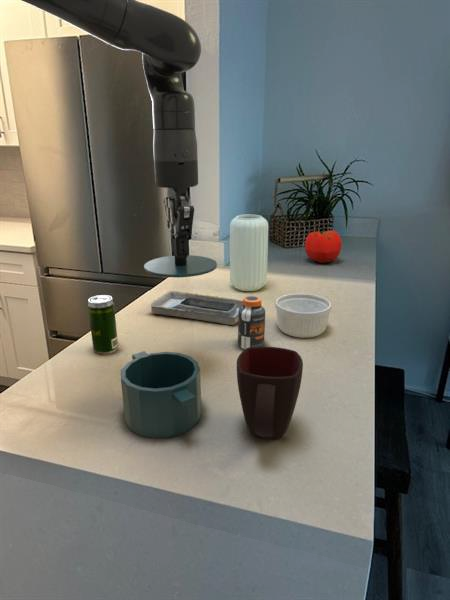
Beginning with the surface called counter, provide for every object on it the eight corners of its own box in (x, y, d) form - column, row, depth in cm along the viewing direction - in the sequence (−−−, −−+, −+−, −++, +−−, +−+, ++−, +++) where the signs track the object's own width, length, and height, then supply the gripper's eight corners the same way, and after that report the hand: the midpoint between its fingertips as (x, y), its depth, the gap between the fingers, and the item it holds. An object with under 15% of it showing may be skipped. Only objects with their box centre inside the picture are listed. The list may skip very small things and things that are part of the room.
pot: (152, 459, 62) (148, 409, 59) (108, 401, 76) (103, 358, 73) (224, 428, 69) (224, 381, 66) (171, 380, 83) (169, 340, 80)
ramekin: (322, 344, 97) (324, 316, 94) (266, 334, 102) (267, 307, 100) (334, 323, 108) (336, 297, 106) (283, 315, 113) (284, 290, 111)
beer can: (122, 345, 97) (117, 295, 93) (112, 356, 92) (107, 304, 88) (99, 343, 98) (93, 294, 94) (89, 354, 93) (82, 302, 89)
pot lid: (165, 285, 72) (163, 251, 70) (133, 267, 83) (130, 237, 81) (231, 272, 80) (230, 240, 78) (193, 257, 90) (192, 229, 88)
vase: (253, 296, 128) (254, 221, 120) (222, 288, 134) (222, 217, 126) (273, 286, 136) (275, 215, 129) (243, 279, 143) (244, 212, 135)
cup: (299, 412, 73) (303, 348, 69) (297, 470, 60) (302, 396, 56) (241, 406, 74) (241, 344, 70) (227, 462, 62) (227, 389, 57)
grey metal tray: (170, 299, 126) (169, 289, 125) (252, 308, 118) (252, 298, 117) (147, 315, 114) (147, 305, 113) (237, 327, 106) (237, 316, 105)
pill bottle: (251, 353, 93) (252, 305, 89) (232, 345, 97) (232, 297, 93) (269, 345, 97) (271, 298, 93) (250, 337, 101) (251, 291, 97)
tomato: (333, 256, 171) (335, 226, 167) (344, 266, 158) (347, 234, 153) (300, 257, 170) (301, 227, 166) (308, 266, 157) (310, 235, 153)
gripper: (147, 157, 79) (153, 249, 85) (162, 160, 67) (168, 267, 73) (186, 156, 82) (190, 245, 88) (208, 158, 69) (210, 262, 75)
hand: (180, 255), depth 80 cm, fingers closed on pot lid, 2 cm apart
